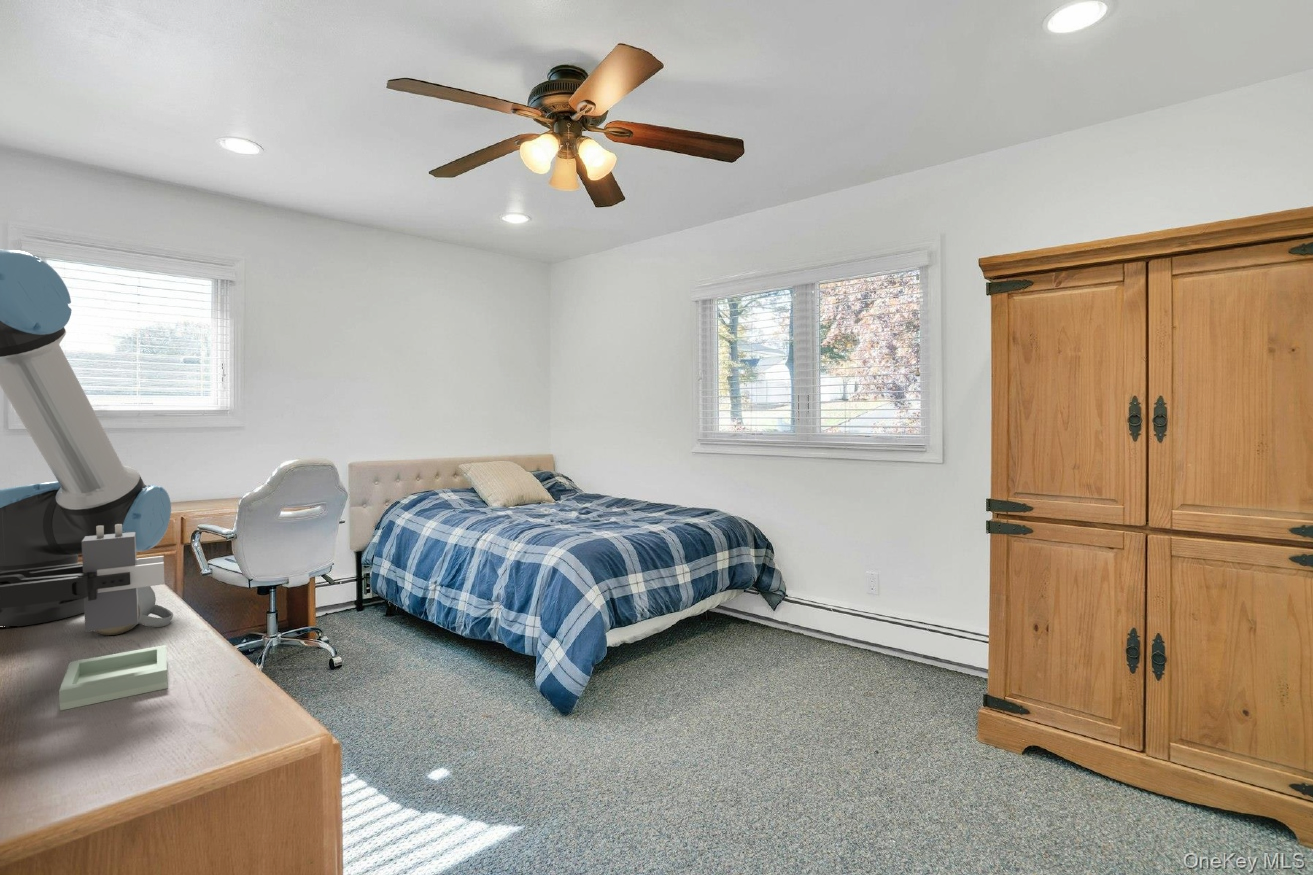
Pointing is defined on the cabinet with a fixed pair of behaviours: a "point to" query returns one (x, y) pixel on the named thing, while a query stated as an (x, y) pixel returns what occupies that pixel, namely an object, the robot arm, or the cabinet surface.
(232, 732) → the cabinet surface
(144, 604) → the ceramic mug
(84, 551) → the charger brick
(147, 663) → the shallow pale green tray
